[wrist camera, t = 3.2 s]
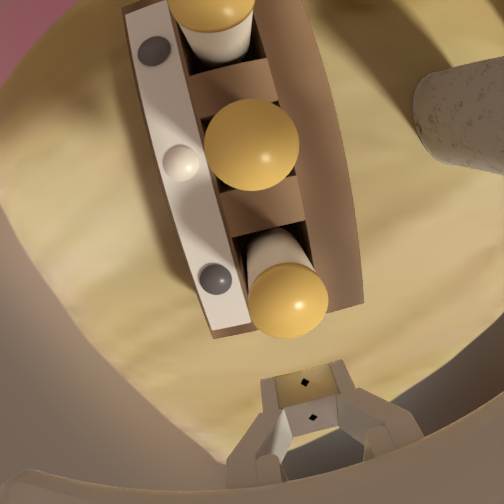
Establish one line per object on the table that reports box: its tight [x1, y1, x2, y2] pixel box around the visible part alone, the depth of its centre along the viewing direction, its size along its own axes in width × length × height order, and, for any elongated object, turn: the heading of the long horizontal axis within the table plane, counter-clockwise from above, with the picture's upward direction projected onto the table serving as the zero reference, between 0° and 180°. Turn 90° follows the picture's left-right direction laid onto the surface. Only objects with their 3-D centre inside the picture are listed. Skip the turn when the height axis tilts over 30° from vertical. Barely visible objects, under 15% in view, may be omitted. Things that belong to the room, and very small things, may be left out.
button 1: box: [168, 0, 255, 68], centre depth 13 cm, size 4×4×8 cm
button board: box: [122, 0, 364, 339], centre depth 20 cm, size 12×26×5 cm, turn 14°
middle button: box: [204, 99, 299, 191], centre depth 16 cm, size 4×4×8 cm
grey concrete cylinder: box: [412, 56, 504, 175], centre depth 16 cm, size 10×10×12 cm
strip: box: [125, 0, 251, 331], centre depth 18 cm, size 3×24×1 cm, turn 14°
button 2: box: [247, 227, 328, 339], centre depth 18 cm, size 4×4×8 cm
